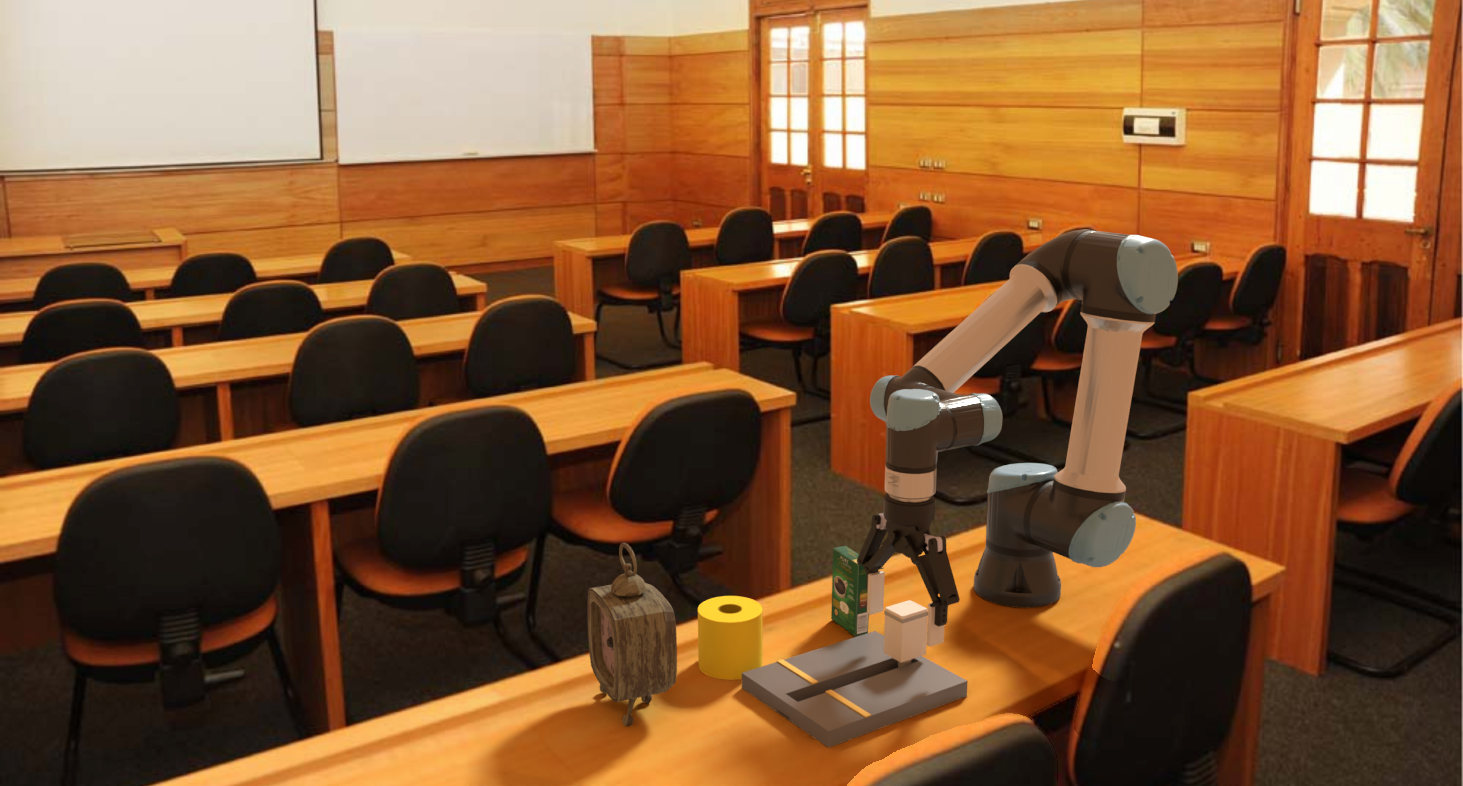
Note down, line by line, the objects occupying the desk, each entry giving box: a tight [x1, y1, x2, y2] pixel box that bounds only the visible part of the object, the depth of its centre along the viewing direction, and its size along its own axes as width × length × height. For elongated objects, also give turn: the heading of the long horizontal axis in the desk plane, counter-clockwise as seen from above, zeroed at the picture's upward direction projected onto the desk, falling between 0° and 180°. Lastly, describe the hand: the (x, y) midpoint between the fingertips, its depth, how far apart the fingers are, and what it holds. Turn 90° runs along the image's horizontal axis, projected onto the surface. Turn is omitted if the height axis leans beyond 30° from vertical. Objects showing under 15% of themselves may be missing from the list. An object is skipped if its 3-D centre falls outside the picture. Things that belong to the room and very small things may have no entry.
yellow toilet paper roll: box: [697, 595, 764, 681], centre depth 197 cm, size 10×10×9 cm
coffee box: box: [830, 545, 870, 637], centre depth 209 cm, size 8×3×13 cm, turn 27°
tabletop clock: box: [586, 542, 678, 727], centre depth 182 cm, size 14×9×25 cm, turn 23°
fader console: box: [741, 630, 969, 749], centre depth 188 cm, size 26×21×3 cm
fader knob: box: [883, 599, 928, 668], centre depth 193 cm, size 5×4×10 cm
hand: (904, 627), depth 192 cm, fingers open, 13 cm apart
